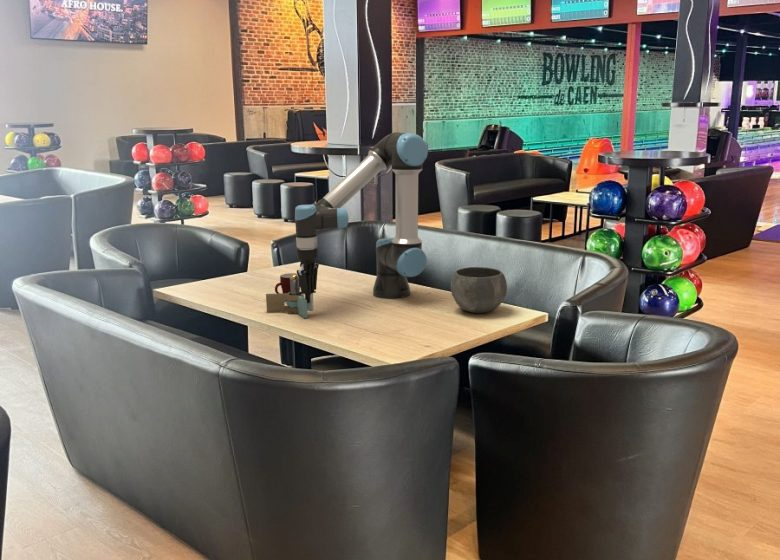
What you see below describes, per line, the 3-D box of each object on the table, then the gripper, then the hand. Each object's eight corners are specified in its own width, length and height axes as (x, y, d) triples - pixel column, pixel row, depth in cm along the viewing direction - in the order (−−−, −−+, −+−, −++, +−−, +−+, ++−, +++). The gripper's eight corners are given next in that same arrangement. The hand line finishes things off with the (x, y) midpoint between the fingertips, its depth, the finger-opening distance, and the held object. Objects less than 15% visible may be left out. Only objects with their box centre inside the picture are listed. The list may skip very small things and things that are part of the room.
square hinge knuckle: (304, 309, 294) (304, 291, 292) (303, 313, 288) (302, 295, 287) (268, 310, 294) (267, 292, 292) (266, 314, 288) (264, 296, 287)
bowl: (441, 307, 293) (441, 268, 290) (489, 301, 300) (490, 263, 297) (465, 321, 274) (465, 280, 271) (516, 314, 282) (517, 274, 278)
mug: (281, 304, 302) (279, 279, 299) (272, 300, 308) (270, 275, 306) (305, 300, 307) (304, 275, 305) (296, 296, 314) (294, 272, 312)
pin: (300, 310, 293) (299, 274, 290) (299, 312, 290) (297, 276, 286) (292, 310, 293) (290, 274, 290) (291, 312, 290) (289, 276, 287)
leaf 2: (286, 310, 293) (285, 292, 291) (301, 308, 295) (300, 290, 293) (298, 318, 280) (297, 301, 279) (313, 316, 283) (312, 299, 281)
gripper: (306, 244, 287) (309, 305, 293) (289, 250, 276) (292, 314, 281) (324, 245, 285) (326, 306, 290) (307, 252, 273) (310, 316, 279)
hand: (309, 310), depth 286 cm, fingers closed
